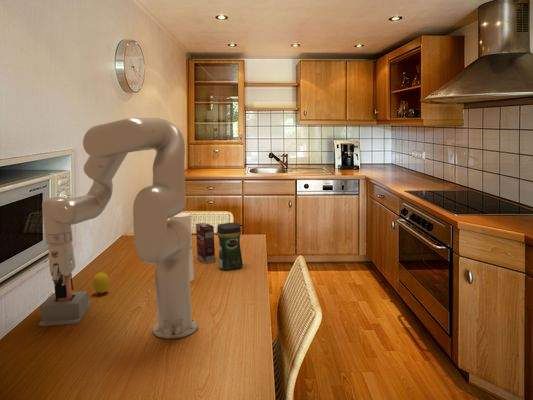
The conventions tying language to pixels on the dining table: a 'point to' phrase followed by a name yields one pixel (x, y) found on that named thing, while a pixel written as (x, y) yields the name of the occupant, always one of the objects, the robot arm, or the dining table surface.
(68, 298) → the peg
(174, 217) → the cylindrical container
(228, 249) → the coffee jar
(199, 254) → the supplement box
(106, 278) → the lemon
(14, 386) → the dining table surface
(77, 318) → the socket
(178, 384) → the dining table surface
